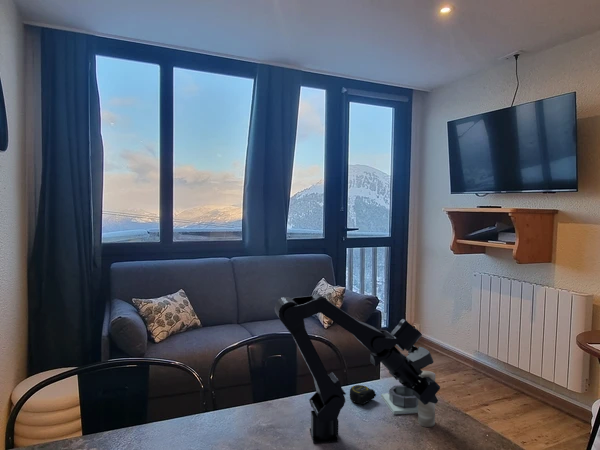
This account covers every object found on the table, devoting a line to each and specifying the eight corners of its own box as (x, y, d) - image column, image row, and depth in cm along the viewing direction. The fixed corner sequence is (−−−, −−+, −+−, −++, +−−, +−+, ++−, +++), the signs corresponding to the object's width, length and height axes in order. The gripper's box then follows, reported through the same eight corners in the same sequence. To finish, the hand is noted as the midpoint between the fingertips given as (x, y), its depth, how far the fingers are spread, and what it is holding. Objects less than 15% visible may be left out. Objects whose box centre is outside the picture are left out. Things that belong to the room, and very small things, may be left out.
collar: (396, 408, 120) (396, 398, 120) (386, 395, 129) (386, 386, 129) (423, 406, 121) (423, 397, 121) (412, 393, 130) (412, 384, 130)
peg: (422, 427, 112) (422, 377, 111) (415, 419, 116) (415, 371, 116) (437, 426, 113) (438, 376, 112) (430, 418, 117) (430, 370, 116)
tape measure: (361, 408, 123) (362, 396, 123) (345, 400, 128) (345, 388, 128) (376, 401, 127) (376, 389, 127) (359, 393, 132) (359, 382, 132)
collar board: (393, 414, 119) (393, 411, 119) (381, 396, 130) (381, 393, 130) (429, 412, 120) (429, 408, 120) (414, 394, 131) (414, 391, 131)
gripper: (434, 352, 103) (470, 390, 106) (399, 330, 121) (431, 363, 125) (405, 385, 102) (443, 423, 105) (374, 358, 120) (407, 391, 123)
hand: (431, 397), depth 114 cm, fingers open, 5 cm apart
